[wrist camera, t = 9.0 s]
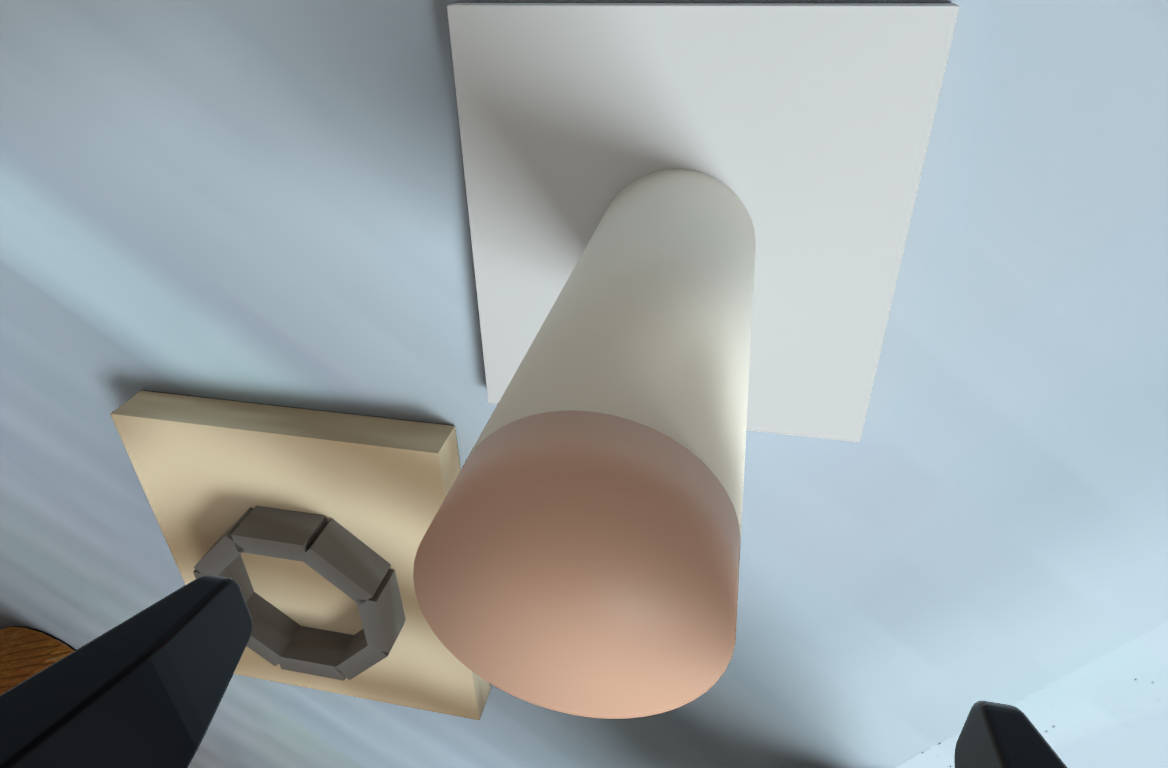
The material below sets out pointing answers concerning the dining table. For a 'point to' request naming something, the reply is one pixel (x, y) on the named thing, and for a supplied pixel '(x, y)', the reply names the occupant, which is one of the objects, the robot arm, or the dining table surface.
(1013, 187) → the dining table surface
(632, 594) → the peg
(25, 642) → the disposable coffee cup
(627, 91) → the mat
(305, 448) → the eye plate
